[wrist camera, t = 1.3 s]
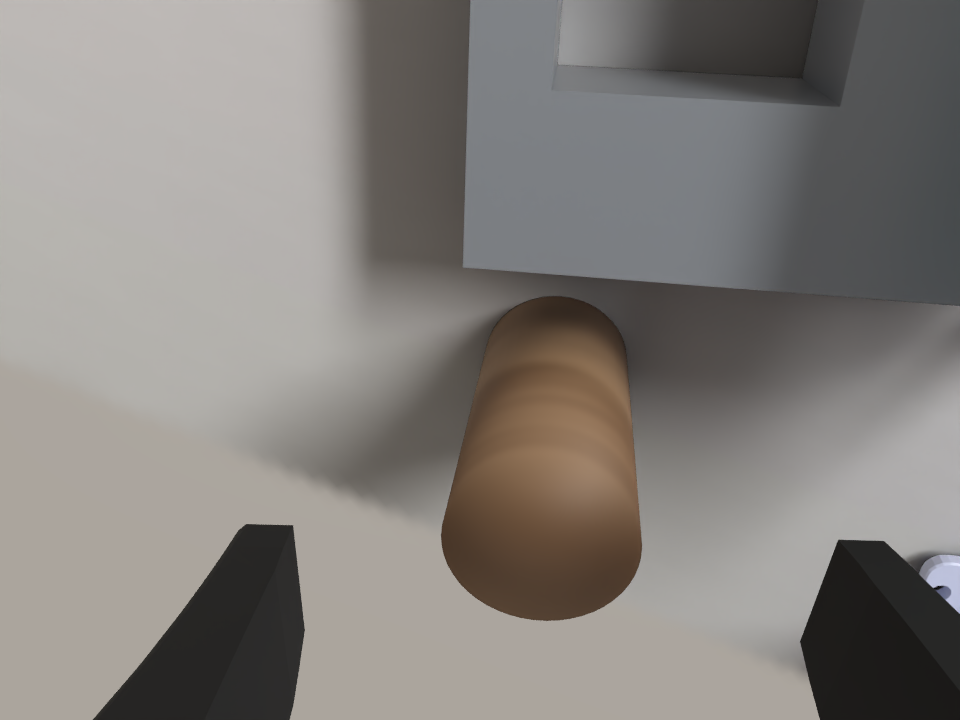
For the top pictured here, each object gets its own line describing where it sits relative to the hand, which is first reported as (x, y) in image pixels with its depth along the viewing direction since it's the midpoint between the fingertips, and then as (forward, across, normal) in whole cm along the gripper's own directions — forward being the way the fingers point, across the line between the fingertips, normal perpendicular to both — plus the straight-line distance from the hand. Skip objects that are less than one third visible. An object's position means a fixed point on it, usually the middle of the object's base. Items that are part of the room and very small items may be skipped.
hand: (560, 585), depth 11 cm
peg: (+10, -1, +3) cm, 10 cm away
